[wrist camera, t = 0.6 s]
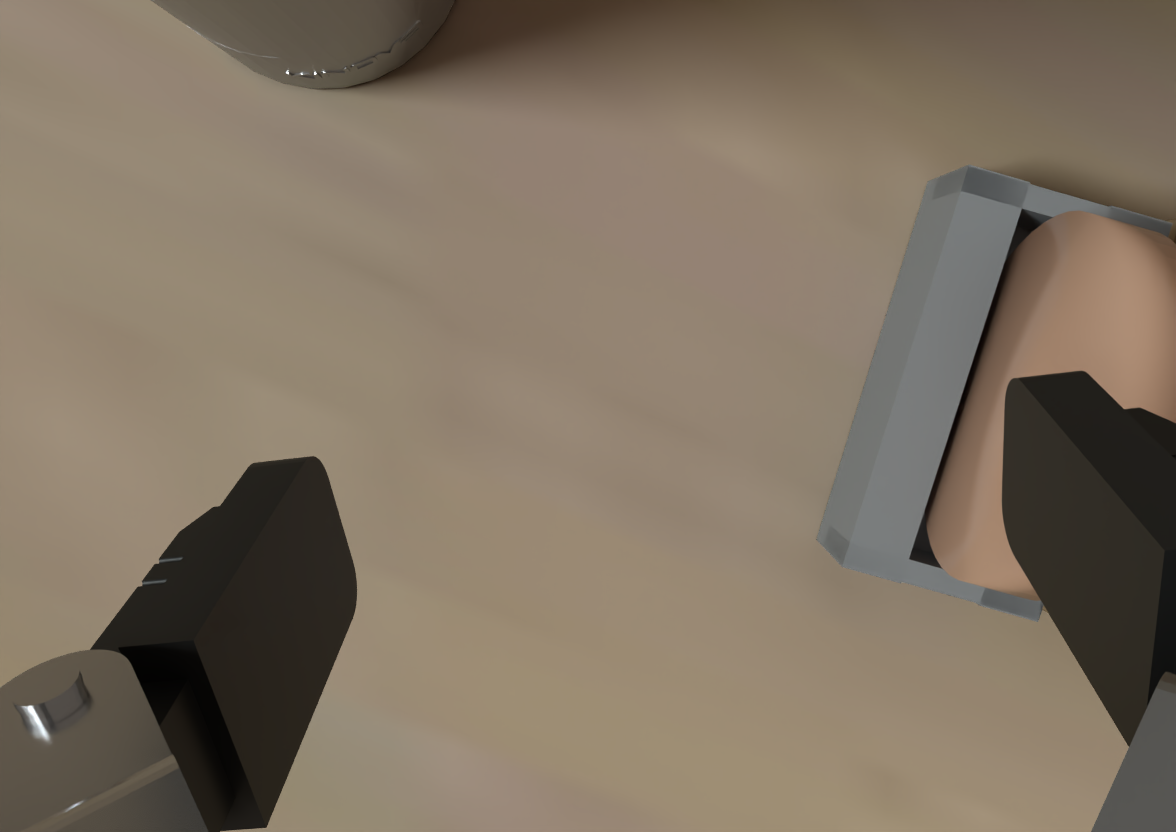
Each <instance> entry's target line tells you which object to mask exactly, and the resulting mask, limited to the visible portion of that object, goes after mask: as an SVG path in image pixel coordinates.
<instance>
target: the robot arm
mask: <svg viewBox="0 0 1176 832" xmlns="http://www.w3.org/2000/svg"><path fill="white" fill-rule="evenodd" d="M151 1H152V2H154V3H155V4H157V5H158V6H160V7H161V8H163V9H164V10H165V11H167V12H168V13H170V14H171V15H173V16H174V17H176V18H177V19H178V20H180V21H181V22H183V23H184V24H186V25H187V26H188V27H190V28H191V29H192V30H194V31H195V32H197V33H198V34H200V35H201V36H203V37H204V38H206V39H207V40H209V41H210V42H212V43H213V44H215V45H216V46H218V47H219V48H221V49H222V50H224V51H225V52H227V53H228V54H230V55H231V56H233V57H234V58H236V59H237V60H238V61H240V62H241V63H243V64H244V65H246V66H247V67H249V68H250V69H252V70H253V71H255V72H257V73H259V74H262V75H264V76H267V77H269V78H271V79H274V80H276V81H279V82H281V83H284V84H289V85H295V86H301V87H306V88H312V89H323V88H345V87H349V86H353V85H356V84H360V83H364V82H368V81H371V80H375V79H377V78H379V77H381V76H383V75H384V74H386V73H388V72H390V71H392V70H394V69H396V68H398V67H400V66H402V65H403V64H404V63H405V62H407V61H408V60H409V59H410V58H411V57H413V56H414V55H415V54H416V53H417V52H419V51H420V50H421V49H422V48H423V47H425V46H426V44H427V43H428V42H429V41H430V39H431V38H432V37H433V35H434V34H435V33H436V32H437V30H438V29H439V28H440V27H441V25H442V24H443V23H444V21H445V20H446V18H447V16H448V13H449V11H450V9H451V7H452V5H453V3H454V1H455V0H151ZM1002 514H1003V522H1004V527H1005V532H1006V536H1007V539H1008V543H1009V545H1010V548H1011V550H1012V553H1013V555H1014V557H1015V558H1016V560H1017V562H1018V563H1019V565H1020V567H1021V568H1022V570H1023V572H1024V573H1025V575H1026V577H1027V578H1028V580H1029V582H1030V583H1031V585H1032V587H1033V588H1034V590H1035V591H1036V593H1037V595H1038V596H1039V598H1040V600H1041V601H1042V603H1043V605H1044V606H1045V608H1046V610H1047V611H1048V613H1049V615H1050V616H1051V618H1052V620H1053V621H1054V623H1055V625H1056V626H1057V628H1058V630H1059V631H1060V633H1061V635H1062V636H1063V638H1064V640H1065V641H1066V643H1067V645H1068V646H1069V648H1070V650H1071V651H1072V653H1073V655H1074V656H1075V658H1076V660H1077V661H1078V663H1079V665H1080V666H1081V668H1082V670H1083V671H1084V673H1085V675H1086V676H1087V678H1088V680H1089V681H1090V683H1091V685H1092V686H1093V688H1094V690H1095V691H1096V693H1097V695H1098V696H1099V698H1100V700H1101V701H1102V703H1103V705H1104V706H1105V708H1106V710H1107V711H1108V713H1109V715H1110V716H1111V718H1112V720H1113V721H1114V723H1115V725H1116V726H1117V728H1118V730H1119V731H1120V733H1121V735H1122V736H1123V738H1124V740H1125V741H1126V743H1127V745H1128V746H1129V749H1128V751H1127V753H1126V755H1125V758H1124V760H1123V762H1122V764H1121V767H1120V769H1119V771H1118V773H1117V775H1116V778H1115V780H1114V782H1113V784H1112V787H1111V789H1110V791H1109V793H1108V795H1107V798H1106V800H1105V802H1104V804H1103V806H1102V809H1101V811H1100V813H1099V815H1098V818H1097V820H1096V822H1095V824H1094V826H1093V829H1092V831H1091V832H1176V423H1174V422H1172V421H1170V420H1168V419H1165V418H1163V417H1161V416H1158V415H1156V414H1154V413H1152V412H1149V411H1147V410H1145V409H1142V408H1140V407H1139V408H1130V409H1123V408H1122V407H1121V406H1120V405H1119V404H1118V403H1117V402H1116V401H1115V400H1114V399H1113V398H1112V397H1111V396H1110V395H1109V394H1108V393H1107V392H1106V391H1105V390H1104V389H1103V388H1102V387H1101V386H1100V385H1099V384H1098V383H1097V382H1096V381H1095V380H1094V379H1093V378H1092V377H1091V376H1090V375H1089V374H1088V373H1086V372H1085V371H1073V372H1064V373H1055V374H1046V375H1037V376H1029V377H1020V378H1013V379H1011V380H1010V382H1009V384H1008V386H1007V390H1006V395H1005V408H1004V440H1003V472H1002ZM142 583H143V585H142V586H141V587H137V588H136V590H135V591H134V592H133V594H132V595H131V596H130V598H129V599H128V600H127V602H126V603H125V604H124V606H123V607H122V608H121V609H120V611H119V612H118V613H117V615H116V616H115V617H114V619H113V620H112V621H111V623H110V624H109V625H108V627H107V628H106V629H105V631H104V632H103V633H102V634H101V636H100V637H99V638H98V640H97V641H96V642H95V644H94V645H93V646H92V648H91V649H90V650H86V651H79V652H74V653H70V654H66V655H63V656H60V657H57V658H54V659H51V660H49V661H46V662H44V663H41V664H39V665H37V666H35V667H33V668H31V669H29V670H27V671H25V672H23V673H22V674H20V675H18V676H17V677H15V678H13V679H12V680H11V681H9V682H8V683H6V684H5V685H3V686H2V687H1V688H0V832H220V831H227V830H240V829H254V828H266V827H267V825H268V822H269V820H270V817H271V815H272V813H273V810H274V808H275V805H276V803H277V801H278V798H279V796H280V793H281V791H282V788H283V786H284V784H285V781H286V779H287V776H288V774H289V771H290V769H291V767H292V764H293V762H294V759H295V757H296V754H297V752H298V750H299V747H300V745H301V742H302V740H303V738H304V735H305V733H306V730H307V728H308V725H309V723H310V721H311V718H312V716H313V713H314V711H315V708H316V706H317V704H318V701H319V699H320V696H321V694H322V692H323V689H324V687H325V684H326V682H327V679H328V677H329V675H330V672H331V670H332V667H333V665H334V662H335V660H336V658H337V655H338V653H339V650H340V648H341V646H342V643H343V641H344V638H345V636H346V633H347V631H348V629H349V626H350V624H351V621H352V619H353V616H354V613H355V608H356V600H357V581H356V573H355V568H354V564H353V560H352V557H351V553H350V550H349V546H348V543H347V540H346V536H345V533H344V529H343V526H342V523H341V519H340V516H339V512H338V509H337V506H336V502H335V499H334V495H333V492H332V489H331V485H330V482H329V478H328V475H327V472H326V470H325V468H324V466H323V464H322V463H321V461H320V460H319V459H318V458H316V457H314V456H311V457H302V458H293V459H284V460H275V461H267V462H258V463H253V464H251V465H250V466H249V467H248V468H247V470H246V471H245V472H244V474H243V475H242V477H241V478H240V479H239V481H238V482H237V484H236V485H235V486H234V488H233V489H232V490H231V492H230V493H229V495H228V496H227V497H226V499H225V500H224V501H223V503H222V504H221V506H218V507H213V508H211V509H210V510H209V511H207V512H206V513H205V514H203V515H202V516H200V517H199V518H198V519H196V520H195V521H194V522H192V523H191V524H190V525H188V526H187V527H185V528H184V529H183V530H181V531H180V532H179V533H178V534H177V536H176V537H175V538H174V540H173V541H172V542H171V544H170V545H169V546H168V548H167V549H166V550H165V552H164V553H163V554H162V555H161V557H160V558H159V564H155V565H154V566H153V567H152V569H151V570H150V571H149V573H148V574H147V575H146V577H145V578H144V579H143V581H142Z"/></svg>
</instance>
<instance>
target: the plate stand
mask: <svg viewBox="0 0 1176 832" xmlns="http://www.w3.org/2000/svg"><path fill="white" fill-rule="evenodd" d="M1079 210H1080V211H1084V212H1089V213H1092V214H1096V215H1099V216H1103V217H1106V218H1110V219H1113V220H1117V221H1120V222H1124V223H1127V224H1131V225H1134V226H1138V227H1141V228H1145V229H1148V230H1151V231H1155V232H1158V233H1161V234H1163V235H1164V236H1166V237H1168V236H1169V233H1170V230H1171V227H1172V224H1173V223H1170V222H1167V221H1163V220H1160V219H1156V218H1153V217H1149V216H1146V215H1142V214H1139V213H1136V212H1132V211H1129V210H1125V209H1122V208H1118V207H1115V206H1105V205H1101V204H1098V203H1094V202H1091V201H1087V200H1084V199H1080V198H1077V197H1073V196H1070V195H1066V194H1063V193H1059V192H1056V191H1052V190H1049V189H1045V188H1042V187H1038V186H1035V185H1031V184H1030V182H1028V181H1024V180H1021V179H1017V178H1014V177H1010V176H1007V175H1003V174H1000V173H996V172H993V171H989V170H986V169H982V168H979V167H975V166H972V165H967V166H964V167H962V168H960V169H957V170H955V171H952V172H950V173H947V174H945V175H942V176H940V177H937V178H935V179H932V180H930V181H928V183H927V186H926V189H925V193H924V196H923V199H922V202H921V205H920V209H919V212H918V215H917V218H916V221H915V225H914V228H913V231H912V234H911V237H910V241H909V244H908V247H907V250H906V253H905V257H904V260H903V263H902V266H901V270H900V273H899V276H898V279H897V282H896V286H895V289H894V292H893V295H892V298H891V302H890V305H889V308H888V311H887V314H886V318H885V321H884V324H883V327H882V331H881V334H880V337H879V340H878V343H877V347H876V350H875V353H874V356H873V359H872V363H871V366H870V369H869V372H868V375H867V379H866V382H865V385H864V388H863V391H862V395H861V398H860V401H859V404H858V408H857V411H856V414H855V417H854V420H853V424H852V427H851V430H850V433H849V436H848V440H847V443H846V446H845V449H844V452H843V456H842V459H841V462H840V465H839V469H838V472H837V475H836V478H835V481H834V485H833V488H832V491H831V494H830V497H829V501H828V504H827V507H826V510H825V513H824V517H823V520H822V523H821V526H820V529H819V533H818V536H817V539H816V540H817V541H818V542H819V543H820V544H821V545H822V546H823V547H824V548H825V549H826V550H827V551H828V552H829V553H830V555H831V556H832V557H833V558H834V559H835V560H836V561H837V562H838V563H839V564H840V565H841V566H842V567H844V568H848V569H851V570H855V571H859V572H862V573H866V574H869V575H873V576H876V577H880V578H883V579H887V580H891V581H894V582H898V583H901V582H904V583H908V584H911V585H915V586H918V587H922V588H925V589H929V590H932V591H936V592H940V593H943V594H947V595H950V596H954V597H957V598H961V599H964V600H968V601H972V602H975V603H977V604H978V605H980V606H983V607H987V608H990V609H994V610H997V611H1001V612H1004V613H1008V614H1012V615H1015V616H1019V617H1022V618H1026V619H1029V620H1033V621H1036V622H1038V620H1039V617H1040V615H1041V612H1042V609H1043V606H1044V605H1043V603H1042V601H1034V600H1029V599H1024V598H1020V597H1017V596H1013V595H1010V594H1006V593H1003V592H999V591H995V590H992V589H988V588H985V587H981V586H978V585H974V584H971V583H967V582H963V581H960V580H957V579H955V578H954V577H952V576H950V575H949V574H948V573H947V572H946V571H945V570H944V569H943V568H942V567H941V566H940V564H939V562H938V561H937V559H936V558H935V555H934V553H933V550H932V548H931V545H930V541H929V537H928V533H927V526H926V519H925V508H926V504H927V501H928V498H929V495H930V492H931V489H932V486H933V483H934V480H935V477H936V473H937V470H938V467H939V464H940V461H941V458H942V455H943V452H944V449H945V445H946V442H947V439H948V436H949V433H950V430H951V427H952V424H953V421H954V418H955V414H956V411H957V408H958V405H959V402H960V399H961V396H962V393H963V390H964V386H965V383H966V380H967V377H968V374H969V371H970V368H971V365H972V362H973V359H974V355H975V352H976V349H977V346H978V343H979V340H980V337H981V334H982V331H983V328H984V324H985V321H986V318H987V315H988V312H989V309H990V306H991V303H992V300H993V296H994V293H995V290H996V287H997V284H998V281H999V278H1000V275H1001V272H1002V269H1003V265H1004V262H1005V261H1006V260H1007V258H1008V257H1009V256H1010V255H1011V254H1012V252H1013V251H1014V250H1015V249H1016V248H1017V247H1018V245H1019V244H1020V243H1021V242H1022V241H1023V240H1024V239H1025V238H1026V237H1027V236H1028V235H1029V234H1030V233H1031V232H1033V231H1034V230H1035V229H1036V228H1038V227H1039V226H1040V225H1042V224H1043V223H1044V222H1046V221H1048V220H1049V219H1051V218H1053V217H1055V216H1056V215H1059V214H1062V213H1065V212H1068V211H1079Z"/></svg>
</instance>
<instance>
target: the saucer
mask: <svg viewBox="0 0 1176 832" xmlns="http://www.w3.org/2000/svg"><path fill="white" fill-rule="evenodd" d="M1073 371H1085V372H1086V373H1088V374H1089V375H1090V376H1091V377H1092V378H1093V379H1094V380H1095V381H1096V382H1097V383H1098V384H1099V385H1100V386H1101V387H1102V388H1103V389H1104V390H1105V391H1106V392H1107V393H1108V394H1109V395H1110V396H1111V397H1112V398H1113V399H1114V400H1115V401H1116V402H1117V403H1118V404H1119V405H1120V406H1121V407H1122V408H1123V409H1130V408H1139V407H1140V408H1142V409H1145V410H1147V411H1149V412H1152V413H1154V414H1156V415H1158V416H1161V417H1163V418H1165V419H1168V420H1170V421H1172V422H1174V423H1176V244H1175V243H1174V242H1173V241H1172V240H1171V239H1170V238H1168V237H1166V236H1164V235H1163V234H1161V233H1158V232H1155V231H1151V230H1148V229H1145V228H1141V227H1138V226H1134V225H1131V224H1127V223H1124V222H1120V221H1117V220H1113V219H1110V218H1106V217H1103V216H1099V215H1096V214H1092V213H1089V212H1084V211H1080V210H1079V211H1068V212H1065V213H1062V214H1059V215H1056V216H1055V217H1053V218H1051V219H1049V220H1048V221H1046V222H1044V223H1043V224H1042V225H1040V226H1039V227H1038V228H1036V229H1035V230H1034V231H1033V232H1031V233H1030V234H1029V235H1028V236H1027V237H1026V238H1025V239H1024V240H1023V241H1022V242H1021V243H1020V244H1019V245H1018V247H1017V248H1016V249H1015V250H1014V251H1013V252H1012V254H1011V255H1010V256H1009V257H1008V258H1007V260H1006V261H1005V262H1004V265H1003V269H1002V272H1001V275H1000V278H999V281H998V284H997V287H996V290H995V293H994V296H993V300H992V303H991V306H990V309H989V312H988V315H987V318H986V321H985V324H984V328H983V331H982V334H981V337H980V340H979V343H978V346H977V349H976V352H975V355H974V359H973V362H972V365H971V368H970V371H969V374H968V377H967V380H966V383H965V386H964V390H963V393H962V396H961V399H960V402H959V405H958V408H957V411H956V414H955V418H954V421H953V424H952V427H951V430H950V433H949V436H948V439H947V442H946V445H945V449H944V452H943V455H942V458H941V461H940V464H939V467H938V470H937V473H936V477H935V480H934V483H933V486H932V489H931V492H930V495H929V498H928V501H927V504H926V508H925V519H926V526H927V533H928V537H929V541H930V545H931V548H932V550H933V553H934V555H935V558H936V559H937V561H938V562H939V564H940V566H941V567H942V568H943V569H944V570H945V571H946V572H947V573H948V574H949V575H950V576H952V577H954V578H955V579H957V580H960V581H963V582H967V583H971V584H974V585H978V586H981V587H985V588H988V589H992V590H995V591H999V592H1003V593H1006V594H1010V595H1013V596H1017V597H1020V598H1024V599H1029V600H1034V601H1041V600H1040V598H1039V596H1038V595H1037V593H1036V591H1035V590H1034V588H1033V587H1032V585H1031V583H1030V582H1029V580H1028V578H1027V577H1026V575H1025V573H1024V572H1023V570H1022V568H1021V567H1020V565H1019V563H1018V562H1017V560H1016V558H1015V557H1014V555H1013V553H1012V550H1011V548H1010V545H1009V543H1008V539H1007V536H1006V532H1005V527H1004V522H1003V514H1002V472H1003V440H1004V408H1005V395H1006V390H1007V386H1008V384H1009V382H1010V380H1011V379H1013V378H1020V377H1029V376H1037V375H1046V374H1055V373H1064V372H1073Z"/></svg>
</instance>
